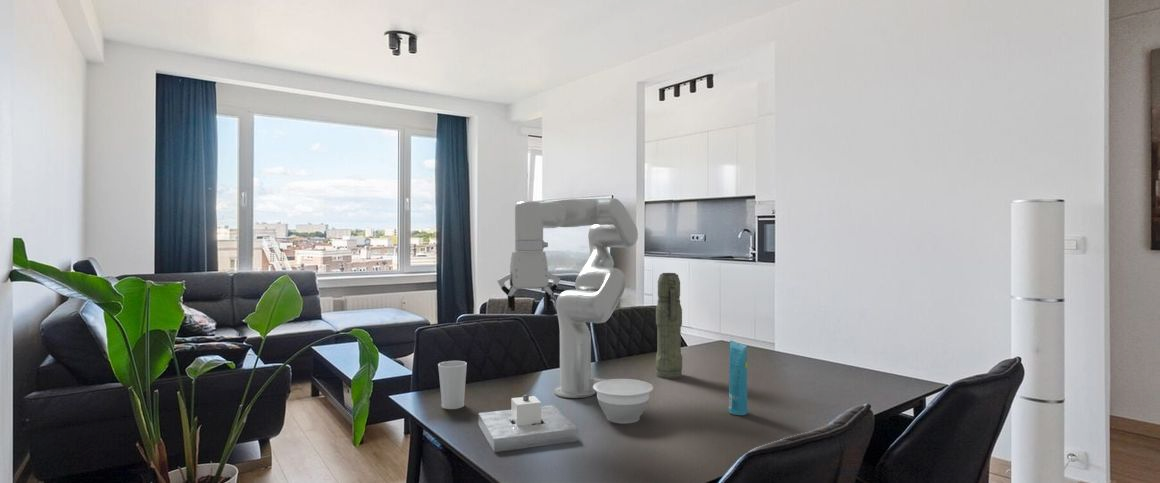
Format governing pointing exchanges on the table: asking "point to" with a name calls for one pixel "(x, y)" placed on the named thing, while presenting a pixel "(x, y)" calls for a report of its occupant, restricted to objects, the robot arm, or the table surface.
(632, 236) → the robot arm
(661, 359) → the thermos
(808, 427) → the table surface
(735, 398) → the tube
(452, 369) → the cup
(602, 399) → the bowl
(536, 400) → the plug
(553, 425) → the socket
